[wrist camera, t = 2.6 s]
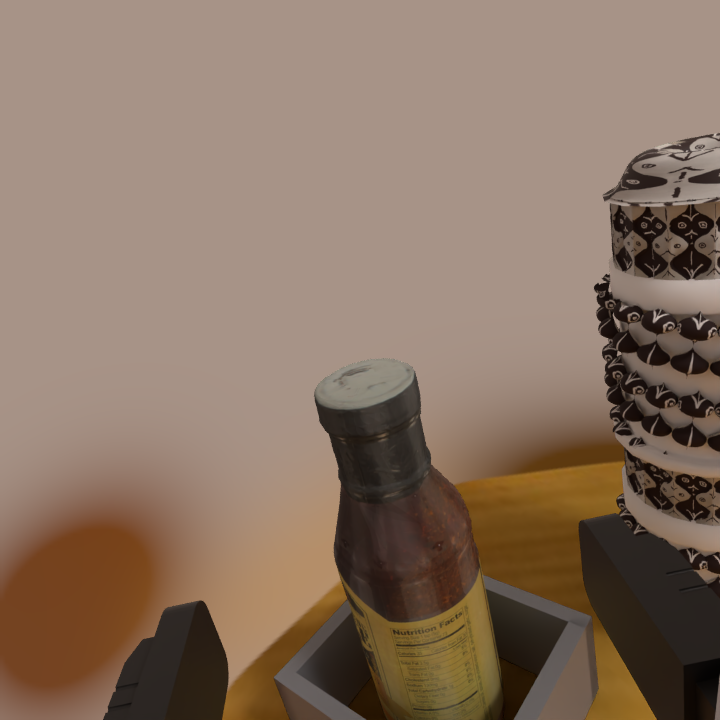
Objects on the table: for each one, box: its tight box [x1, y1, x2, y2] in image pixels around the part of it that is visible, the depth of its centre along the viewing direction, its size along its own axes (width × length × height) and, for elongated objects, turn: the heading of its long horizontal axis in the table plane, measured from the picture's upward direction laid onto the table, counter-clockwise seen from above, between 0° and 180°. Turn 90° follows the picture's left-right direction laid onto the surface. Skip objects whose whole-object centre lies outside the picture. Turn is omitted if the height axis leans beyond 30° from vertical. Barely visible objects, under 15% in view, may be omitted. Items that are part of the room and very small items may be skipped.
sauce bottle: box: [314, 359, 505, 720], centre depth 26 cm, size 6×6×20 cm
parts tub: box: [274, 575, 599, 720], centre depth 29 cm, size 11×12×5 cm
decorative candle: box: [594, 133, 720, 598], centre depth 28 cm, size 9×9×25 cm
